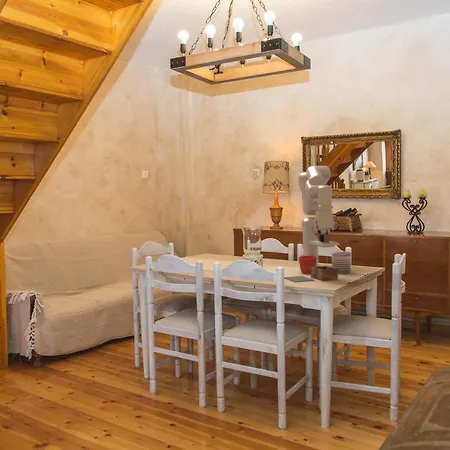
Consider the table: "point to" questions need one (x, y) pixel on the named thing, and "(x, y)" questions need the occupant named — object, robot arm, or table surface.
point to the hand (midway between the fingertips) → (324, 241)
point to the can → (341, 262)
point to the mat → (299, 279)
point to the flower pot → (307, 263)
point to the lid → (325, 243)
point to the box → (324, 273)
